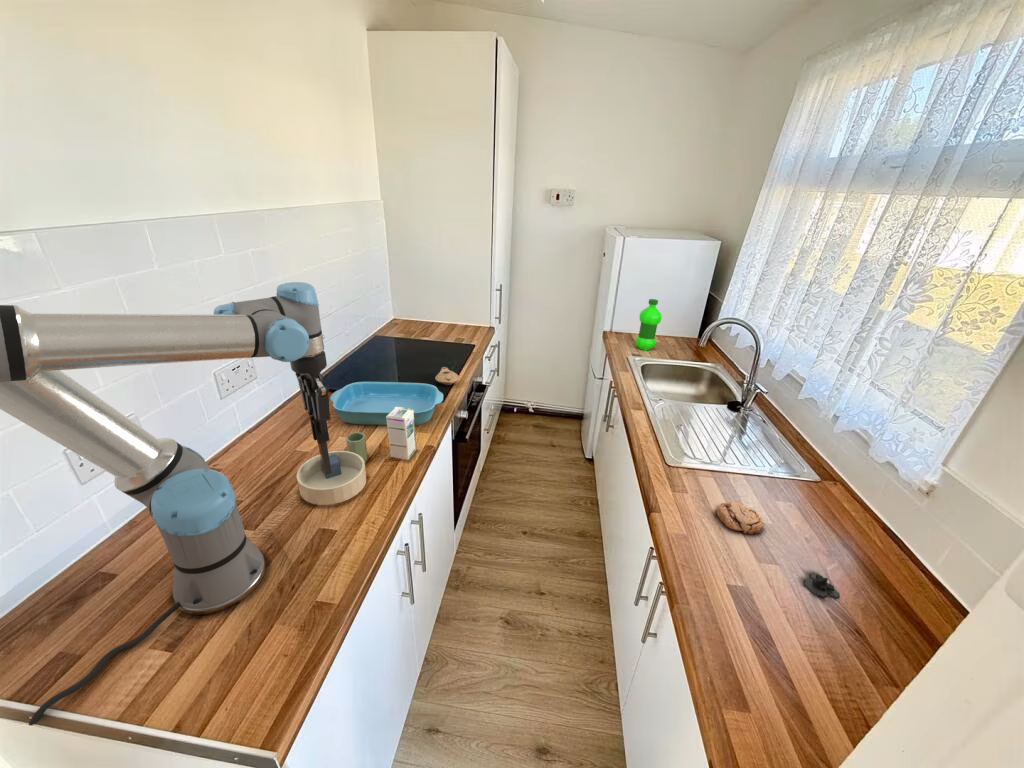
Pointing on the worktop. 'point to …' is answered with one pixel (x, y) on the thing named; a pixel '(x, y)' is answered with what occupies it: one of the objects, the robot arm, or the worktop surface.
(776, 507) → the worktop surface
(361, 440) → the utensil pot
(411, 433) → the syrup box
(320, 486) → the bowl
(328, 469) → the chopstick
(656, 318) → the plastic bottle
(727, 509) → the cookie
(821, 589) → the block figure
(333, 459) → the block
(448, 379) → the pottery oil lamp
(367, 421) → the casserole dish
